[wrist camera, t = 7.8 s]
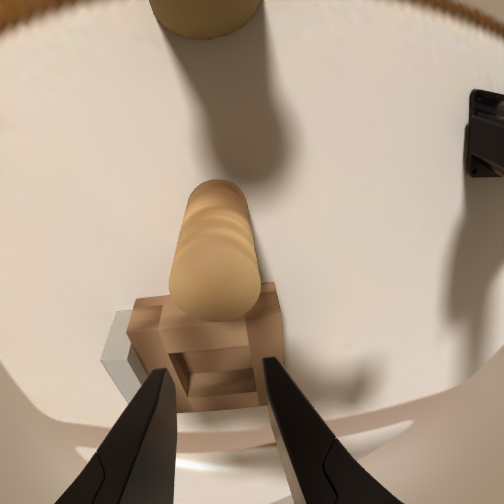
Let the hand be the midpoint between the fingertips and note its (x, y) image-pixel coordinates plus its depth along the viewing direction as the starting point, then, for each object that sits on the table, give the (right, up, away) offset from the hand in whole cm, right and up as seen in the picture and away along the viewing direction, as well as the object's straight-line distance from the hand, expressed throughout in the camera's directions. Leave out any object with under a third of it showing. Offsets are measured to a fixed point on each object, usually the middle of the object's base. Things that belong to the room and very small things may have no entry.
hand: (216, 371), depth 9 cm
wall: (-8, -5, +16) cm, 18 cm away
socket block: (-2, -4, +16) cm, 16 cm away
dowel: (-1, +6, +10) cm, 12 cm away
